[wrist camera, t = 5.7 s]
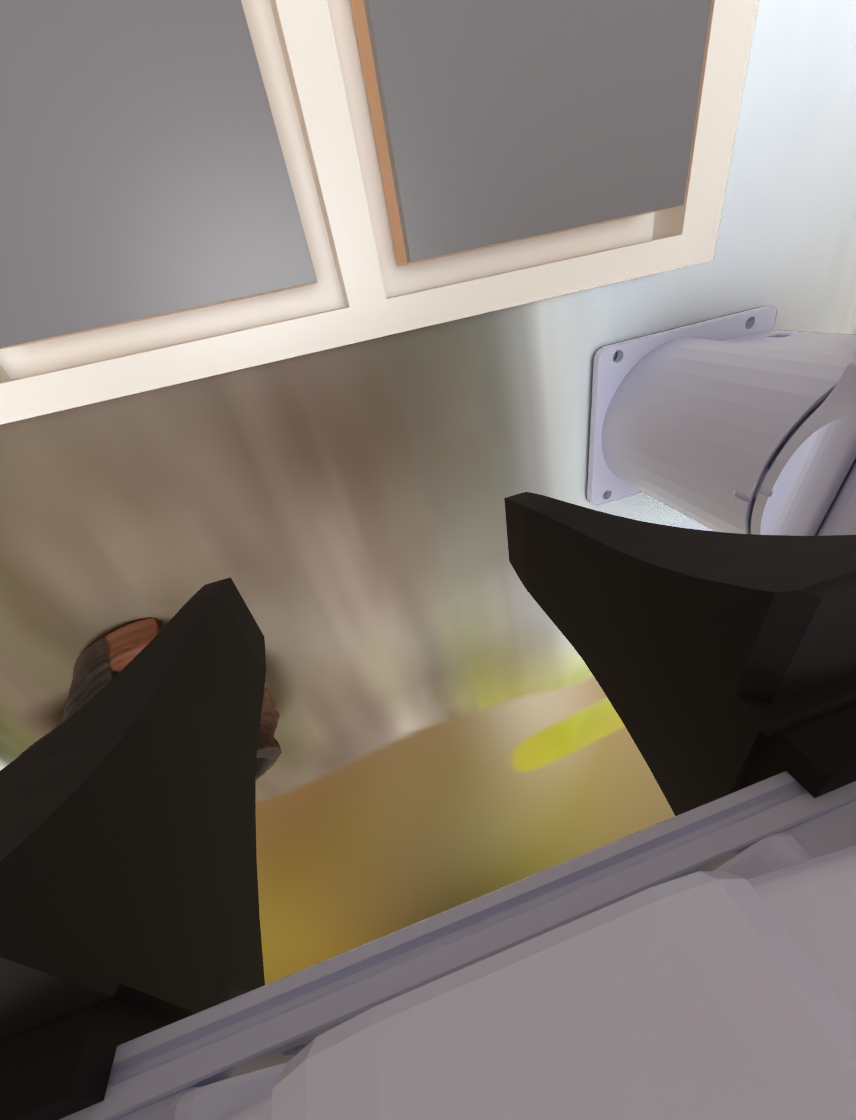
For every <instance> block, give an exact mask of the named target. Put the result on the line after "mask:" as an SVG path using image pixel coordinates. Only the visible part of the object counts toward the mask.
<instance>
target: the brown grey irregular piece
mask: <svg viewBox="0 0 856 1120" xmlns="http://www.w3.org/2000/svg"><path fill="white" fill-rule="evenodd" d="M158 633H159V628H158V622H157V619H156V618H147V619H145V620H140V621H136V622H133V623H131V624H129V625H126V626H123V627H121V628H119V629H117V630H116V631H114V632H111V633H109V634H108V635H107V636H105V637H102V638H100V639H99V640H97V641H96V642H95V643H93V644H92V645H91V646H90V647H87V648H86V649H85V650H84V652H83V653H82V654H81V656H80V657H79V658H78V659H77V661H76V663H75V666H74V673H73V680H72V684H71V688H70V691H69V696H68V698H67V700H66V702H65V705H64V714H63V716H62V718H61V720H60V722H59V724H58V725H57V726H56V727H55V728H54V729H56V728H57V727H58V726H59V725H61V724H62V723H63V722H64V721H66V720H67V719H68V718H69V717H70V716H71V715H73V714H74V713H75V712H76V711H77V710H79V709H80V708H81V707H82V706H83V705H84V704H86V703H87V702H88V701H89V700H90V699H91V698H93V697H94V696H95V695H96V694H97V693H98V692H99V691H100V690H101V689H103V688H104V687H105V686H106V685H107V684H108V683H109V682H110V681H111V680H112V679H113V678H114V677H115V676H116V675H117V674H118V673H119V672H120V671H121V670H122V669H123V668H124V667H125V666H126V665H127V664H128V663H129V662H130V661H131V660H132V659H133V658H134V657H136V656H137V655H138V654H139V653H140V652H141V651H142V650H143V649H144V648H145V647H146V646H147V645H148V644H149V643H150V641H151V640H152V639H153V638H154V637H155V636H156V635H157V634H158ZM278 719H279V713H278V712H277V711H276V710H275V707H274V704H273V702H272V698H271V695H270V693H269V691H268V690H267V688H264V694H263V703H262V712H261V721H260V730H259V739H258V747H257V757H256V772H255V781H256V780H257V779H258V778H259V777H261V776H262V775H263V774H264V773H265V772H266V771H267V770H269V769H270V768H271V767H272V766H273V765H274V763H275V762H276V761H277V758H278V757H279V756H280V754H281V748H280V745H279V743H278V742H277V740H276V739H275V738H274V736H273V735H274V732H275V730H276V727H277V723H278ZM54 729H53V730H54ZM53 730H52V731H53ZM52 731H51V732H52ZM51 732H49V733H51ZM49 733H48V734H49ZM48 734H46V735H45V736H47V735H48ZM45 736H44V737H45ZM44 737H42V738H41V739H43V738H44ZM41 739H39V740H38V741H37V742H39V741H40V740H41ZM37 742H35V743H34V744H33V745H31V746H30V747H29V748H28V749H30V748H31V747H32V746H34V745H35V744H36V743H37ZM28 749H27V750H28ZM27 750H25V751H24V752H26V751H27ZM24 752H23V753H24ZM23 753H22V754H23ZM22 754H21V755H22Z"/></svg>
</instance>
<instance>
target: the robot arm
mask: <svg viewBox="0 0 856 1120" xmlns="http://www.w3.org/2000/svg"><path fill="white" fill-rule="evenodd" d="M776 314H777V311H776V308H775V307H774V306H763V307H759V308H755V309H751V310H747V311H743V312H739V313H735V314H731V315H727V316H723V317H719V318H715V319H711V320H707V321H703V322H699V323H695V324H691V325H687V326H683V327H679V328H675V329H671V330H667V331H663V332H659V333H655V334H651V335H647V336H643V337H639V338H635V339H631V340H627V341H623V342H619V343H615V344H611V345H607V346H604V347H602V348H600V349H599V350H598V351H597V353H596V355H595V358H594V368H593V388H592V408H591V428H590V448H589V468H588V488H587V500H588V501H589V502H590V503H591V504H593V505H599V504H603V503H606V502H609V501H613V500H616V499H619V498H623V497H626V496H629V495H633V494H636V493H639V492H644V493H646V494H648V495H649V496H651V497H653V498H655V499H657V500H658V501H660V502H662V503H664V504H666V505H668V506H669V507H671V508H673V509H675V510H677V511H678V512H680V513H682V514H684V515H686V516H688V517H689V518H691V519H693V520H695V521H697V522H698V523H700V524H702V525H704V526H706V527H707V528H709V529H711V530H713V531H703V530H694V529H686V528H679V527H672V526H666V525H659V524H653V523H648V522H642V521H637V520H633V519H628V518H624V517H620V516H615V515H611V514H607V513H603V512H599V511H596V510H592V509H588V508H585V507H581V506H578V505H574V504H571V503H567V502H564V501H560V500H557V499H554V498H550V497H546V496H543V495H539V494H534V493H529V492H524V493H521V494H517V495H514V496H510V497H507V498H505V510H506V523H507V536H508V549H509V561H510V563H511V565H512V566H513V568H514V570H515V571H516V573H517V575H518V577H519V578H520V580H521V581H522V583H523V585H524V586H525V588H526V589H527V591H528V592H529V593H530V594H531V596H532V597H533V598H534V599H535V601H536V602H537V603H538V604H539V606H540V607H541V608H542V609H543V610H544V612H545V613H546V614H547V615H548V616H549V618H550V619H551V620H552V621H553V623H554V624H555V625H556V626H557V627H558V629H559V630H560V631H561V632H562V633H563V635H564V636H565V637H566V638H567V639H568V641H569V642H570V643H571V644H572V646H573V647H574V648H575V650H576V651H577V652H578V654H579V655H580V656H581V658H582V659H583V660H584V662H585V663H586V665H587V666H588V668H589V669H590V671H591V672H592V674H593V676H594V677H595V679H596V680H597V681H598V683H599V685H600V686H601V688H602V689H603V691H604V692H605V694H606V696H607V697H608V699H609V701H610V702H611V704H612V705H613V707H614V709H615V710H616V712H617V713H618V715H619V717H620V718H621V720H622V722H623V723H624V725H625V727H626V728H627V730H628V732H629V733H630V735H631V737H632V739H633V740H634V742H635V744H636V745H637V747H638V749H639V751H640V752H641V754H642V756H643V757H644V759H645V761H646V762H647V764H648V766H649V768H650V770H651V772H652V773H653V775H654V777H655V779H656V781H657V783H658V784H659V786H660V788H661V790H662V792H663V793H664V795H665V797H666V799H667V801H668V803H669V805H670V806H671V808H672V810H673V812H674V814H675V817H673V818H670V819H668V820H665V821H663V822H660V823H658V824H656V825H653V826H651V827H648V828H646V829H643V830H641V831H639V832H636V833H634V834H631V835H629V836H626V837H624V838H622V839H619V840H617V841H614V842H612V843H609V844H607V845H605V846H602V847H600V848H597V849H595V850H592V851H590V852H588V853H585V854H583V855H580V856H578V857H575V858H573V859H571V860H568V861H566V862H563V863H561V864H558V865H556V866H553V867H551V868H549V869H546V870H544V871H541V872H539V873H536V874H534V875H532V876H529V877H527V878H524V879H522V880H519V881H517V882H515V883H512V884H510V885H507V886H505V887H503V888H500V889H498V890H495V891H493V892H490V893H488V894H485V895H483V896H480V897H478V898H476V899H473V900H471V901H469V902H466V903H463V904H461V905H459V906H456V907H454V908H451V909H449V910H446V911H445V912H442V913H439V914H437V915H434V916H432V917H429V918H427V919H425V920H422V921H420V922H417V923H415V924H413V925H410V926H408V927H405V928H403V929H401V930H398V931H395V932H393V933H391V934H388V935H386V936H383V937H381V938H378V939H376V940H373V941H371V942H369V943H366V944H364V945H361V946H359V947H357V948H354V949H352V950H350V951H347V952H344V953H342V954H339V955H337V956H335V957H332V958H330V959H327V960H325V961H323V962H320V963H318V964H315V965H313V966H311V967H308V968H305V969H303V970H301V971H298V972H296V973H293V974H291V975H288V976H286V977H284V978H281V979H279V980H276V981H274V982H271V983H269V984H267V985H265V981H264V970H263V956H262V946H261V945H262V944H261V931H260V920H259V904H258V903H259V900H258V881H257V862H256V824H255V823H256V821H255V772H256V757H257V747H258V739H259V730H260V721H261V712H262V703H263V694H264V685H265V674H266V663H265V642H264V636H263V634H262V632H261V630H260V629H259V627H258V625H257V623H256V622H255V620H254V618H253V616H252V614H251V613H250V611H249V609H248V607H247V606H246V604H245V602H244V600H243V599H242V597H241V595H240V593H239V591H238V590H237V588H236V586H235V584H234V583H233V581H232V579H231V578H227V579H224V580H220V581H217V582H213V583H210V584H207V585H205V586H203V587H202V588H201V589H200V590H199V591H198V592H197V593H196V594H195V595H194V596H193V597H192V598H191V599H190V600H189V601H188V602H187V603H186V604H185V605H184V606H183V607H182V608H181V609H180V610H179V611H178V613H177V614H176V615H175V616H174V617H173V618H172V619H171V620H170V621H169V622H168V623H167V624H166V625H165V627H164V628H163V629H162V630H161V631H160V632H159V633H158V634H157V635H156V636H155V637H154V638H153V639H152V640H151V641H150V643H149V644H148V645H147V646H146V647H145V648H144V649H143V650H142V651H141V652H140V653H139V654H138V655H137V656H136V657H134V658H133V659H132V660H131V661H130V662H129V663H128V664H127V665H126V666H125V667H124V668H123V669H122V670H121V671H120V672H119V673H118V674H117V675H116V676H115V677H114V678H113V679H112V680H111V681H110V682H109V683H108V684H107V685H106V686H105V687H104V688H103V689H101V690H100V691H99V692H98V693H97V694H96V695H95V696H94V697H93V698H91V699H90V700H89V701H88V702H87V703H86V704H84V705H83V706H82V707H81V708H80V709H79V710H77V711H76V712H75V713H74V714H73V715H71V716H70V717H69V718H68V719H67V720H66V721H64V722H63V723H62V724H61V725H59V726H58V727H57V728H56V729H54V730H53V731H52V732H51V733H49V734H48V735H47V736H45V737H44V738H43V739H41V740H40V741H39V742H37V743H36V744H35V745H34V746H32V747H31V748H30V749H28V750H27V751H26V752H24V753H23V754H22V755H20V756H19V757H18V758H17V759H15V760H14V761H13V762H11V763H10V764H9V765H7V766H6V767H5V768H3V769H2V770H1V771H0V1120H856V335H854V334H836V333H819V332H802V331H784V330H773V327H774V323H775V319H776ZM747 320H748V322H747V324H746V321H747ZM745 324H746V326H745ZM616 351H618V356H617V358H616V360H615V361H613V356H614V354H615V352H616ZM606 491H607V493H606V494H605V495H604V496H603V494H604V493H605V492H606ZM714 531H715V532H714Z"/></svg>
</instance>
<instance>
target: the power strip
mask: <svg viewBox="0 0 856 1120" xmlns="http://www.w3.org/2000/svg"><path fill="white" fill-rule="evenodd" d="M241 2H242V6H243V10H244V13H245V17H246V21H247V24H248V28H249V32H250V35H251V39H252V43H253V46H254V50H255V54H256V57H257V61H258V65H259V68H260V72H261V76H262V79H263V83H264V87H265V90H266V94H267V98H268V101H269V105H270V109H271V112H272V116H273V120H274V123H275V127H276V131H277V134H278V138H279V142H280V145H281V149H282V153H283V156H284V160H285V164H286V167H287V171H288V175H289V178H290V182H291V186H292V189H293V193H294V197H295V200H296V204H297V208H298V211H299V215H300V219H301V222H302V226H303V230H304V233H305V237H306V241H307V244H308V248H309V252H310V255H311V259H312V263H313V266H314V270H315V274H316V277H317V281H318V282H317V283H316V284H313V285H308V286H303V287H298V288H294V289H289V290H284V291H279V292H275V293H270V294H265V295H260V296H256V297H251V298H246V299H241V300H237V301H232V302H227V303H222V304H218V305H213V306H208V307H203V308H198V309H194V310H189V311H184V312H179V313H175V314H170V315H165V316H160V317H156V318H151V319H146V320H141V321H137V322H132V323H127V324H122V325H118V326H113V327H108V328H103V329H99V330H94V331H89V332H84V333H79V334H75V335H70V336H65V337H60V338H56V339H51V340H46V341H41V342H37V343H32V344H27V345H22V346H18V347H12V348H5V349H0V425H1V424H5V423H9V422H14V421H18V420H23V419H27V418H31V417H36V416H40V415H44V414H49V413H53V412H57V411H62V410H66V409H70V408H75V407H79V406H83V405H88V404H92V403H96V402H101V401H105V400H109V399H114V398H118V397H122V396H127V395H131V394H135V393H140V392H144V391H148V390H153V389H157V388H162V387H166V386H170V385H175V384H179V383H183V382H188V381H192V380H196V379H201V378H205V377H209V376H214V375H218V374H222V373H227V372H231V371H235V370H240V369H244V368H248V367H253V366H257V365H261V364H266V363H270V362H274V361H279V360H283V359H287V358H292V357H296V356H301V355H305V354H309V353H314V352H318V351H322V350H327V349H331V348H335V347H340V346H344V345H348V344H353V343H357V342H361V341H366V340H370V339H374V338H379V337H383V336H387V335H392V334H396V333H400V332H405V331H409V330H413V329H418V328H422V327H427V326H431V325H435V324H440V323H444V322H448V321H453V320H457V319H461V318H466V317H470V316H474V315H479V314H483V313H487V312H492V311H496V310H500V309H505V308H509V307H513V306H518V305H522V304H526V303H531V302H535V301H539V300H544V299H548V298H552V297H557V296H561V295H566V294H570V293H574V292H579V291H583V290H587V289H592V288H596V287H600V286H605V285H609V284H613V283H618V282H622V281H626V280H631V279H635V278H639V277H644V276H648V275H652V274H657V273H661V272H665V271H670V270H674V269H678V268H683V267H687V266H691V265H696V264H700V263H705V262H709V261H713V258H714V252H715V247H716V241H717V235H718V230H719V224H720V219H721V213H722V207H723V202H724V196H725V191H726V185H727V179H728V174H729V168H730V163H731V157H732V151H733V146H734V140H735V135H736V129H737V123H738V118H739V112H740V106H741V101H742V95H743V90H744V84H745V78H746V73H747V67H748V62H749V56H750V50H751V45H752V39H753V34H754V28H755V22H756V17H757V11H758V6H759V0H712V2H711V9H710V16H709V24H708V31H707V38H706V46H705V53H704V60H703V68H702V75H701V82H700V89H699V97H698V104H697V111H696V119H695V126H694V133H693V141H692V148H691V155H690V163H689V170H688V177H687V185H686V192H685V199H684V205H680V206H676V207H672V208H668V209H665V210H661V211H657V212H653V213H649V214H645V215H641V216H636V217H631V218H627V219H622V220H617V221H612V222H608V223H603V224H598V225H593V226H588V227H584V228H579V229H574V230H569V231H565V232H560V233H555V234H550V235H546V236H541V237H536V238H531V239H527V240H522V241H517V242H512V243H508V244H503V245H498V246H493V247H489V248H484V249H479V250H474V251H469V252H465V253H460V254H455V255H450V256H446V257H441V258H436V259H431V260H427V261H422V262H417V263H412V264H408V265H403V266H397V261H396V255H395V249H394V244H393V238H392V232H391V227H390V221H389V216H388V210H387V204H386V199H385V193H384V187H383V182H382V176H381V171H380V165H379V159H378V154H377V148H376V142H375V137H374V131H373V126H372V120H371V114H370V109H369V103H368V97H367V92H366V86H365V81H364V75H363V69H362V64H361V58H360V52H359V47H358V41H357V36H356V30H355V24H354V19H353V13H352V7H351V2H350V0H241Z"/></svg>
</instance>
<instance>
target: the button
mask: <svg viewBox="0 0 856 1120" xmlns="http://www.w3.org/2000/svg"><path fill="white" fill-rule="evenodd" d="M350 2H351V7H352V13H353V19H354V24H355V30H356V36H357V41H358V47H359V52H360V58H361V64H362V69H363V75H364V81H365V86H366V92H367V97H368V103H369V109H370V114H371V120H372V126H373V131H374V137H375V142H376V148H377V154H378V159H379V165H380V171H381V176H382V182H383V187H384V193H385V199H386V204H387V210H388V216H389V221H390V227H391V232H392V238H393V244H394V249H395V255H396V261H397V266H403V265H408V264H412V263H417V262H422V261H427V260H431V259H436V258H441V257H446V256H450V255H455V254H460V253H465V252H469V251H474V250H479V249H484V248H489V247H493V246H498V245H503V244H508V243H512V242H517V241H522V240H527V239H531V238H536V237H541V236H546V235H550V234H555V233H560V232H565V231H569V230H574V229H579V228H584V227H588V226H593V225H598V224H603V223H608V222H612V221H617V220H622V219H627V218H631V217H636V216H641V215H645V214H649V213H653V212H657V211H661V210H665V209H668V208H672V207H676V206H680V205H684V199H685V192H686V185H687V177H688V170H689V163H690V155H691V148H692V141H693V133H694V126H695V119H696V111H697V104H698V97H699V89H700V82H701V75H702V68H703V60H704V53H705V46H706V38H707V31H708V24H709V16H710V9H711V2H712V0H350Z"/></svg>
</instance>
